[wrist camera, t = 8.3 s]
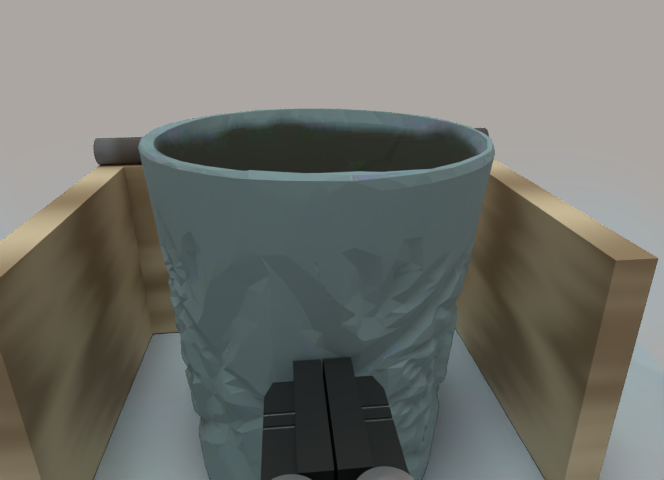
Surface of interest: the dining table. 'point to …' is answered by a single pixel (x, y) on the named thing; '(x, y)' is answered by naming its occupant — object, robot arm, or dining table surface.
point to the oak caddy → (159, 317)
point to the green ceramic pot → (314, 259)
